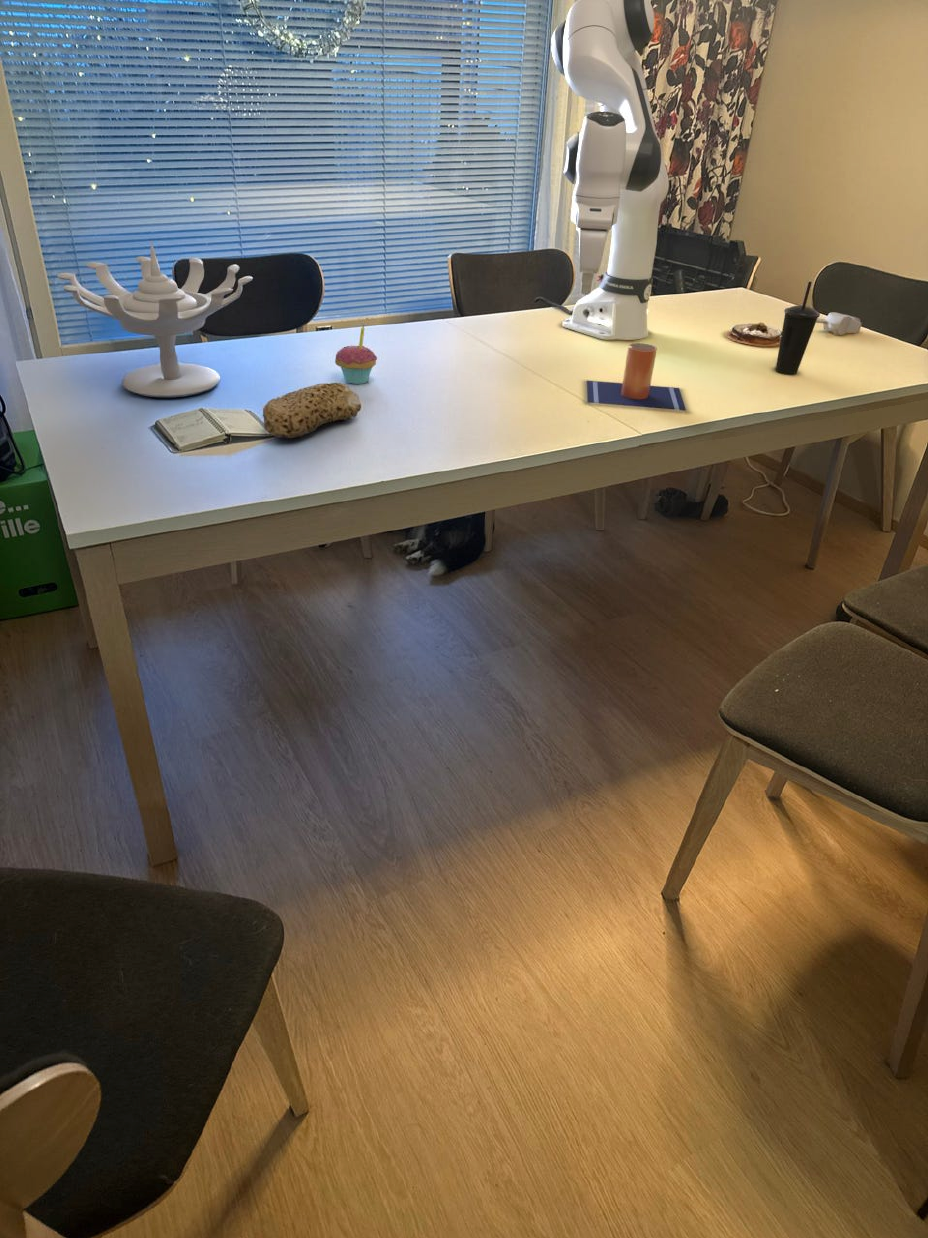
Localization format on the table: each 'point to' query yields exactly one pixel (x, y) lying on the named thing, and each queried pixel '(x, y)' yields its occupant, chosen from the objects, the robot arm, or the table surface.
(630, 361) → the tumbler
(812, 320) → the drinking cup
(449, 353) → the table surface
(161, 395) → the candelabra
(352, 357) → the cupcake
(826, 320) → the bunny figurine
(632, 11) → the robot arm
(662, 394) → the cloth
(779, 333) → the round cake
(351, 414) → the sponge
